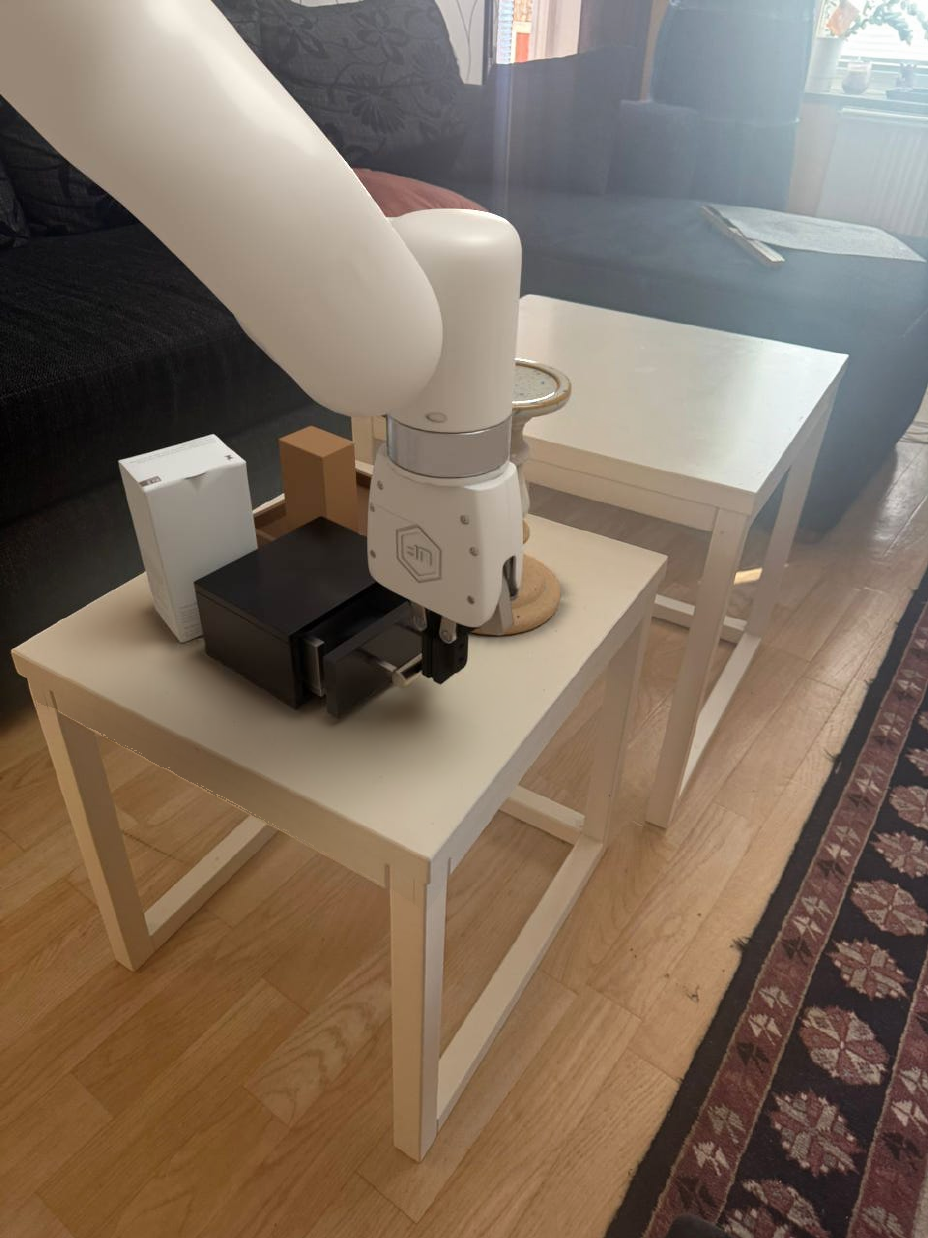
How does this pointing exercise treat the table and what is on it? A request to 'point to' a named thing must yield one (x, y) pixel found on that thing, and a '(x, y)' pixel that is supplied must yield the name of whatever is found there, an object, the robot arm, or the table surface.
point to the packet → (318, 478)
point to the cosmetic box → (188, 521)
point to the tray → (274, 517)
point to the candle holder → (531, 398)
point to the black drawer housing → (281, 602)
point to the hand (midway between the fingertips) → (444, 670)
